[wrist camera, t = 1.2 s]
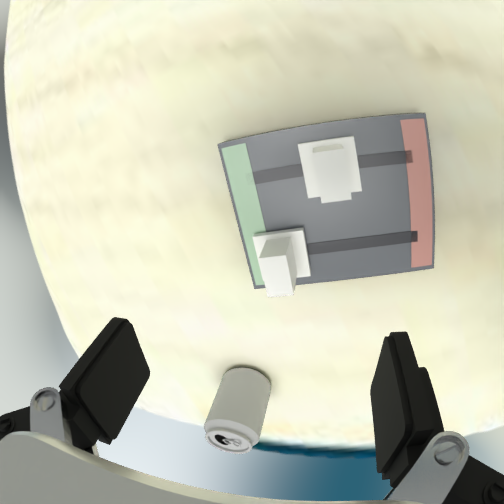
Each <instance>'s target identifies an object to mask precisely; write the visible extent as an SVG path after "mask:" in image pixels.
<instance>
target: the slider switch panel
mask: <svg viewBox="0 0 504 504" xmlns="http://www.w3.org/2000/svg"><path fill="white" fill-rule="evenodd" d="M347 136H354V141H355V147H356V153H357V160H358V166H359V173H360V180H361V187H362V191H359V192H351V197H352V199H351V200H344V201H336V202H328V203H321V197H314V198H308V195H307V189H306V184H305V179H304V174H303V169H302V164H301V159H300V154H299V149H298V144H300V143H306V142H312V141H319V140H325V139H332V138H340V137H347ZM218 148H219V152H220V156H221V160H222V164H223V168H224V172H225V176H226V180H227V184H228V188H229V192H230V195H231V199H232V203H233V207H234V211H235V215H236V219H237V223H238V227H239V231H240V235H241V238H242V242H243V246H244V250H245V254H246V258H247V262H248V266H249V269H250V273H251V277H252V281H253V285H254V289H259V288H266V287H265V283H264V281H263V279H262V275H261V271H260V266H259V262H258V258H257V254H256V250H255V246H254V242H253V238H252V237H253V235H254V234H258V233H265V232H272V231H280V230H287V229H294V228H302V227H303V228H304V233H305V239H306V245H307V251H308V257H309V263H310V269H311V276H308V277H299V278H296V284H295V285H301V284H311V283H320V282H330V281H338V280H347V279H356V278H364V277H372V276H380V275H388V274H396V273H403V272H410V271H418V270H425V269H432V268H434V247H435V210H434V186H433V172H432V160H431V150H430V142H429V134H428V127H427V120H426V114H425V113H409V114H395V115H383V116H373V117H363V118H354V119H346V120H339V121H331V122H324V123H318V124H311V125H305V126H299V127H294V128H288V129H283V130H277V131H272V132H267V133H262V134H258V135H253V136H248V137H244V138H239V139H235V140H231V141H227V142H223V143H220V144H218Z"/></svg>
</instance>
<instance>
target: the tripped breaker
mask: <svg viewBox="0 0 504 504" xmlns="http://www.w3.org/2000/svg"><path fill="white" fill-rule="evenodd" d="M298 149H299V154H300V159H301V164H302V169H303V174H304V179H305V184H306V189H307V195H308V198H314V197H321V203H328V202H336V201H344V200H351V199H352V197H351V192H359V191H362V187H361V180H360V173H359V166H358V160H357V153H356V147H355V141H354V136H347V137H340V138H332V139H325V140H319V141H312V142H306V143H300V144H298Z"/></svg>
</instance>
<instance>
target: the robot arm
mask: <svg viewBox="0 0 504 504" xmlns="http://www.w3.org/2000/svg"><path fill="white" fill-rule="evenodd" d="M149 376H150V369H149V367H148V364H147V362H146V359H145V357H144V354H143V352H142V349H141V347H140V344H139V341H138V339H137V336H136V333H135V331H134V328H133V325H132V324H131V323H130V322H129V321H128V320H127V319H124V318H117V317H114V318H112V319H111V320H110V322H109V323H108V324H107V325H106V326H105V328H104V329H103V330H102V331H101V333H100V334H99V335H98V336H97V338H96V339H95V340H94V341H93V342H92V344H91V345H90V346H89V347H88V349H87V350H86V351H85V353H84V354H83V355H82V356H81V358H80V359H79V360H78V362H77V363H76V364H75V365H74V367H73V368H72V369H71V371H70V372H69V373H68V374H67V376H66V377H65V379H64V380H63V381H62V383H61V384H60V385H59V387H60V389H61V390H60V392H58V391H57V390H56V389H54V388H51V387H47V388H43V389H41V390H39V391H38V392H36V393H35V394H34V396H33V397H32V399H31V403H30V406H29V407H26V408H23V409H19V410H16V411H13V412H10V413H7V414H4V415H2V416H0V504H504V475H503V474H501V473H499V472H497V471H496V470H494V469H492V468H490V467H488V466H487V465H485V464H483V463H481V462H480V461H478V460H476V459H475V458H473V457H471V456H469V445H468V442H467V441H466V439H465V438H464V437H463V436H462V435H460V434H459V433H456V432H453V431H445V432H444V428H443V424H442V420H441V416H440V412H439V408H438V405H437V401H436V397H435V394H434V390H433V387H432V384H431V380H430V377H429V374H428V371H427V369H426V368H425V367H418V364H417V361H416V357H415V354H414V351H413V348H412V345H411V342H410V339H409V336H408V333H407V332H391V333H390V335H389V336H388V337H385V338H384V341H383V345H382V349H381V353H380V357H379V360H378V364H377V368H376V371H375V375H374V378H373V381H372V385H371V391H370V395H371V404H372V413H373V423H374V434H375V447H376V462H377V472H378V473H382V480H385V479H390V486H391V487H393V488H392V490H391V491H390V492H389V493H388V494H387V496H386V497H385V498H384V499H383V500H372V501H294V500H278V499H267V498H257V497H249V496H242V495H235V494H229V493H223V492H217V491H212V490H207V489H202V488H197V487H192V486H188V485H184V484H180V483H176V482H172V481H169V480H165V479H161V478H158V477H155V476H151V475H148V474H145V473H142V472H139V471H136V470H133V469H130V468H127V467H124V466H121V465H118V464H116V463H113V462H110V461H108V460H105V459H103V458H100V457H99V454H98V451H97V447H96V442H97V440H99V441H101V442H104V443H106V444H109V445H110V444H111V442H112V440H113V439H116V438H117V436H118V434H119V432H120V430H121V429H122V427H123V425H124V423H125V421H126V419H127V417H128V416H129V414H130V411H131V410H132V408H133V406H134V404H135V403H136V401H137V399H138V397H139V395H140V393H141V392H142V390H143V388H144V386H145V384H146V382H147V381H148V379H149Z"/></svg>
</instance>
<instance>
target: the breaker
mask: <svg viewBox="0 0 504 504" xmlns="http://www.w3.org/2000/svg"><path fill="white" fill-rule="evenodd" d="M252 238H253V242H254V246H255V250H256V254H257V258H258V262H259V266H260V271H261V275H262V279H263V281H264V283H265V287H266V291H267V296H268V297H277V296H288V295H294V290H295V284H296V278H299V277H308V276H311V269H310V263H309V257H308V251H307V245H306V239H305V233H304V228H303V227H302V228H294V229H287V230H280V231H272V232H265V233H258V234H254V235H253V237H252Z"/></svg>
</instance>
